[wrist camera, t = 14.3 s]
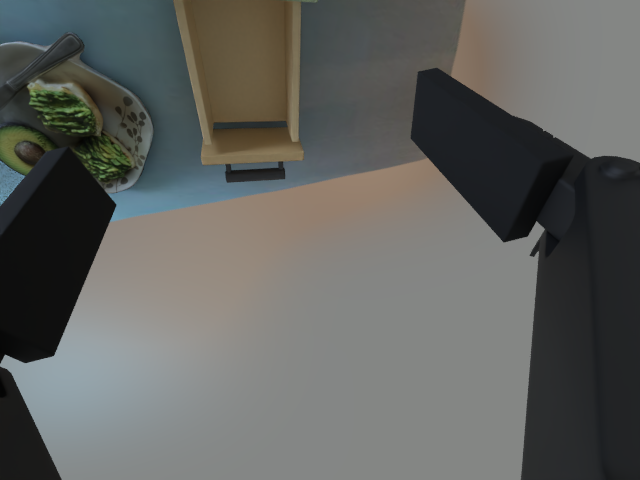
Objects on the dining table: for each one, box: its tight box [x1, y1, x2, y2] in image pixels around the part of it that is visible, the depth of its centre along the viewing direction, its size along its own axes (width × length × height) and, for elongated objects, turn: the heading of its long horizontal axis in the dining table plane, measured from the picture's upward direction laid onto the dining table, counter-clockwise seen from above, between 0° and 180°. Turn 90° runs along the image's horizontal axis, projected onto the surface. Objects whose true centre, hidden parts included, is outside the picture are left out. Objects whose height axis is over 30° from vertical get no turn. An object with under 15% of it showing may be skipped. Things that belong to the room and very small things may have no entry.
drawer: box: [173, 0, 304, 183], centre depth 35 cm, size 22×12×7 cm, turn 176°
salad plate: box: [0, 32, 154, 193], centre depth 35 cm, size 19×18×5 cm
